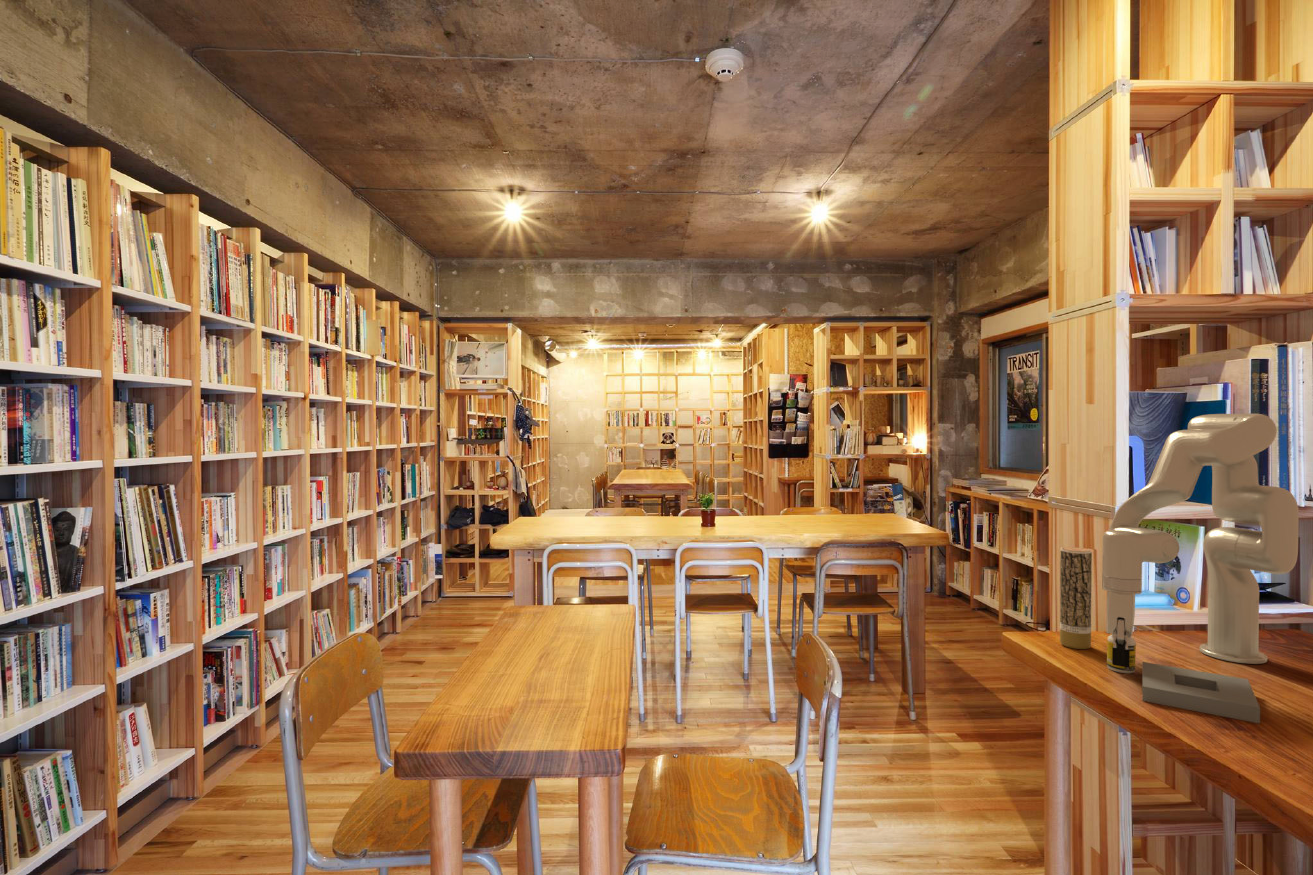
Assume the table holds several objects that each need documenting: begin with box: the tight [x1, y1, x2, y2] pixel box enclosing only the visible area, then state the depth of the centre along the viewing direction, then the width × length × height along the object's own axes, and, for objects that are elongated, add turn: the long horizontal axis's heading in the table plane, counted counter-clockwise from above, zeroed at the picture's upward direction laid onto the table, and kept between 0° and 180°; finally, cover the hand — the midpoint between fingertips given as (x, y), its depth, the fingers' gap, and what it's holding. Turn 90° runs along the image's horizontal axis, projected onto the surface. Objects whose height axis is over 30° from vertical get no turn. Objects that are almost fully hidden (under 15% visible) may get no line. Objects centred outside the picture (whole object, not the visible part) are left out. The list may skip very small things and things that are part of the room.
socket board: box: [1141, 661, 1261, 724], centre depth 139 cm, size 18×18×3 cm
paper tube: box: [1059, 546, 1093, 650], centre depth 172 cm, size 7×7×25 cm
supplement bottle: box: [1106, 631, 1137, 674], centre depth 155 cm, size 5×5×10 cm
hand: (1121, 661), depth 155 cm, fingers closed on supplement bottle, 5 cm apart
